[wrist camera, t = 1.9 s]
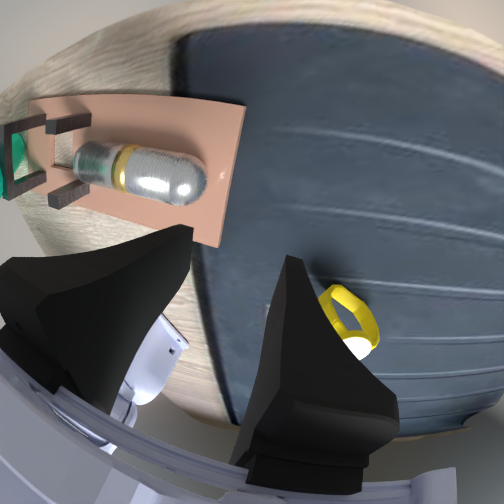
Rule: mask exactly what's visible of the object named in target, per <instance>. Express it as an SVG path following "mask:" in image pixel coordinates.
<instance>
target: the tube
mask: <svg viewBox="0 0 504 504" xmlns="http://www.w3.org/2000/svg"><path fill="white" fill-rule="evenodd" d="M72 167H73V172H74V174H75V175H76V177H77V178H78V179H79V180H80V181H82V182H84V183H87V184H91V185H95V186H99V187H103V188H108V189H112V190H116V191H118V192H121V193H125V194H129V195H136V196H139V197H143V198H147V199H151V200H155V201H159V202H163V203H166V204H170V205H174V206H180V207H181V206H188V205H192V204H194V203H196V202H197V201H198V200H200V199H201V198H202V196H203V195H204V194H205V192H206V190H207V187H208V183H209V176H208V171H207V169H206V166H205V165H204V164H203V162H202V161H201V160H200V159H198V158H197V157H195V156H193V155H190V154H186V153H180V152H175V151H170V150H164V149H158V148H152V147H146V146H143V145H136V144H125V143H118V142H110V141H101V140H90V141H87V142H85V143H84V144H82V145H81V146H80V147H79V148H78V149H77V151H76V152H75V154H74V157H73V161H72Z"/></svg>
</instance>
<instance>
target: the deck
mask: <svg viewBox="0 0 504 504" xmlns="http://www.w3.org/2000/svg"><path fill="white" fill-rule="evenodd" d="M245 111H246V106H241V105H235V104H230V103H223V102H217V101H210V100H202V99H194V98H185V97H174V96H161V95H143V94H91V95H74V96H62V97H52V98H44V99H36V100H30V101H29V106H28V117H29V116H33V115H38V114H47V115H46V120H47V119H52V118H57V117H62V116H67V115H72V114H78V113H92V120H91V126H90V127H85V128H81V129H77V130H72V132H73V157H74V154H75V152H76V151H77V149H78V148H79V147H80V146H81V145H82V144H84V143H85V142H87V141H90V140H101V141H110V142H118V143H125V144H136V145H143V146H146V147H152V148H158V149H164V150H170V151H175V152H180V153H186V154H190V155H193V156H195V157H197V158H198V159H200V160H201V161H202V162H203V164H204V165H205V166H206V169H207V171H208V176H209V183H208V187H207V190H206V192H205V194H204V195H203V196H202V198H201V199H200V200H198V201H197V202H196V203H194V204H192V205H188V206H181V207H180V206H174V205H170V204H166V203H163V202H159V201H155V200H151V199H147V198H143V197H139V196H136V195H129V194H125V193H121V192H118V191H116V190H112V189H108V188H103V187H99V186H95V185H91V184H90V193H89V194H87V195H85V196H83V197H82V198H80V199H78V200H76V201H74V202H72V204H75V205H78V206H81V207H85V208H88V209H91V210H94V211H98V212H101V213H104V214H107V215H111V216H114V217H117V218H120V219H124V220H127V221H130V222H133V223H137V224H140V225H143V226H146V227H150V228H153V229H156V230H162V229H164V228H167V227H170V226H173V225H177V224H183V225H186V226H190V227H193V228H194V233H193V241H196V242H199V243H203V244H206V245H209V246H213V247H216V248H218V247H219V245H220V242H221V236H222V230H223V224H224V219H225V213H226V207H227V202H228V196H229V191H230V186H231V180H232V175H233V170H234V165H235V160H236V155H237V150H238V145H239V140H240V135H241V130H242V126H243V121H244V116H245ZM27 148H28V171H29V174H31V173H33V172H35V171H38V170H41V171H46V175H47V182H46V183H43V184H41V185H39V186H37V187H35V188H33V189H31V190H30V191H34V192H37V193H40V194H43V195H46V196H48V194H47V193H49V192H51V191H53V190H56V189H58V188H60V187H62V186H64V185H66V184H68V183H70V182H73V181H75V180H77V179H78V178H77V177H76V175H75V174H74V172H73V169H70V168H65V167H59V166H54V135H51V134H45V125H43V126H39V127H36V128H32V129H28V130H27Z"/></svg>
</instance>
